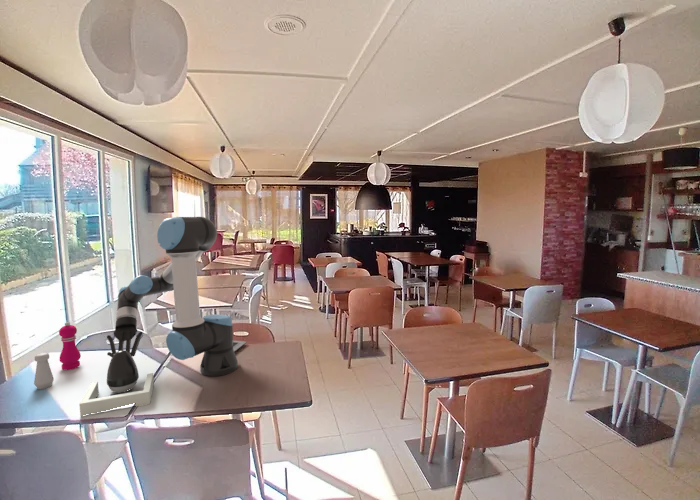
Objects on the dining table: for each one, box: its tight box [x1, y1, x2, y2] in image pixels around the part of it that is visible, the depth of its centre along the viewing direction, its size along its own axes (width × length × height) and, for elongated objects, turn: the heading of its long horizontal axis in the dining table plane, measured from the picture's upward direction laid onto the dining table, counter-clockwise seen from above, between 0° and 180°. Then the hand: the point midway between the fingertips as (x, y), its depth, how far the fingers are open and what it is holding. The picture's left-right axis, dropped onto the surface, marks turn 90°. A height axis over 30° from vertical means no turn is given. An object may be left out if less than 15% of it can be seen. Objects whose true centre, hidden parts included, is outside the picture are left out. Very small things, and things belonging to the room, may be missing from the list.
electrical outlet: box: [233, 340, 248, 353], centre depth 178 cm, size 13×10×2 cm
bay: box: [79, 372, 155, 417], centre depth 131 cm, size 16×20×4 cm
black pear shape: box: [106, 349, 140, 393], centre depth 137 cm, size 10×10×15 cm
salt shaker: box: [33, 352, 54, 390], centre depth 139 cm, size 6×6×13 cm
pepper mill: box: [58, 321, 82, 371], centre depth 156 cm, size 7×7×20 cm
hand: (122, 373), depth 142 cm, fingers closed
